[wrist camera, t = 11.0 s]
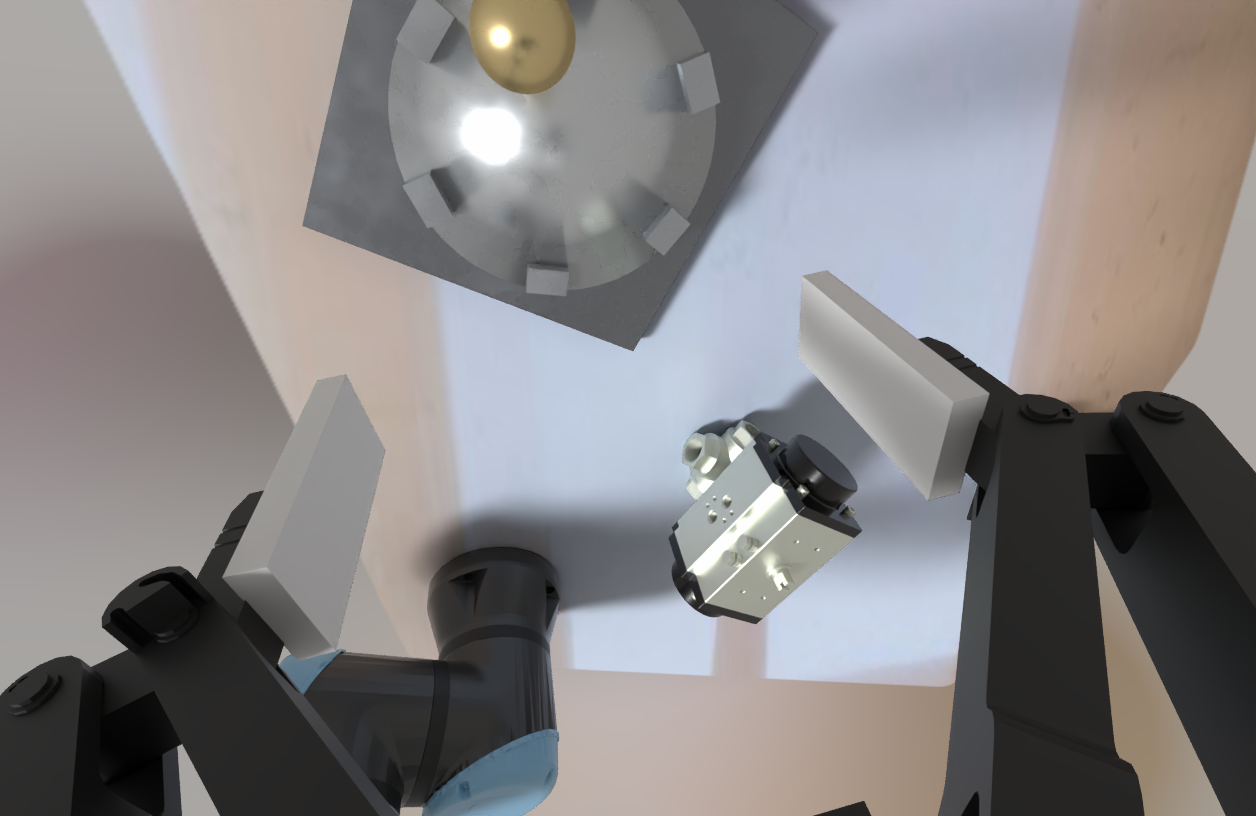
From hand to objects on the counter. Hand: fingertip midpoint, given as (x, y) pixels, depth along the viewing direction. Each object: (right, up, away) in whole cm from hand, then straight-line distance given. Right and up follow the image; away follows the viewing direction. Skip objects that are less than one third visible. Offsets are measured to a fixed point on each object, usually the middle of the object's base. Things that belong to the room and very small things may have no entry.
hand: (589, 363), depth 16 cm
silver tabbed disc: (-4, +17, +21) cm, 27 cm away
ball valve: (+10, -5, +44) cm, 45 cm away
